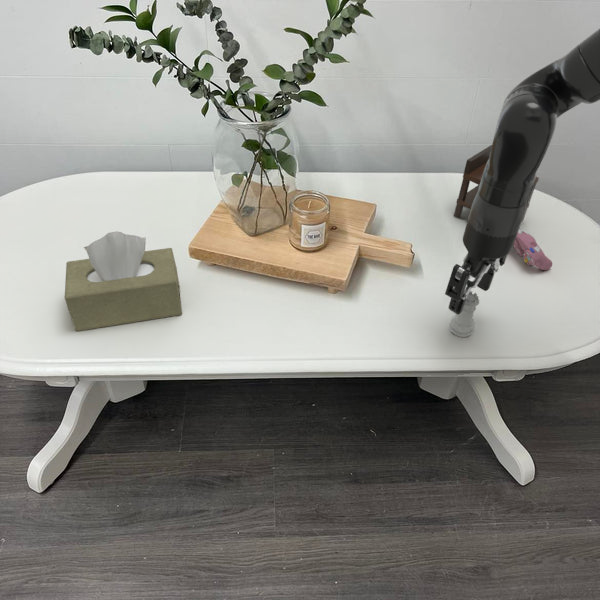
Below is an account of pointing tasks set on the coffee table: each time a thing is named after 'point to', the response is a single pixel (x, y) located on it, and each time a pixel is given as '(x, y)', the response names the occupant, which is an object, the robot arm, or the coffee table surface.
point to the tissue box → (121, 283)
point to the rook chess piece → (465, 317)
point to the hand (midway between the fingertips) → (468, 299)
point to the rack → (477, 181)
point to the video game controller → (531, 251)
